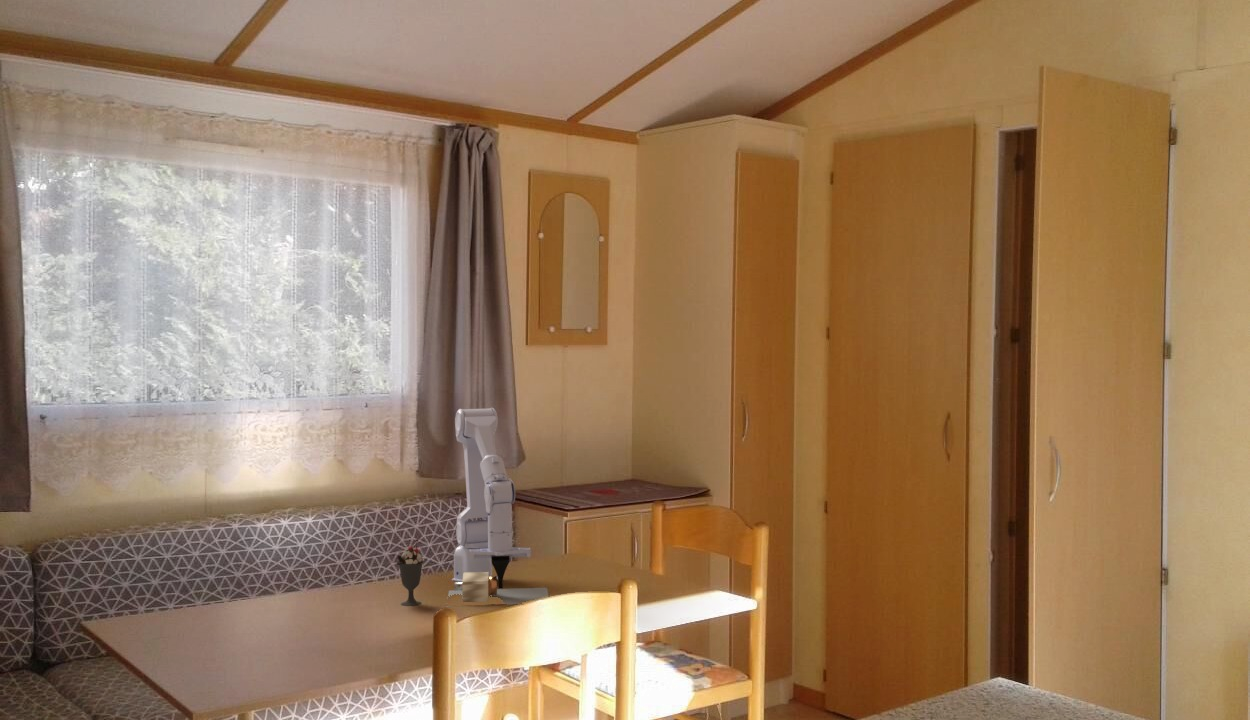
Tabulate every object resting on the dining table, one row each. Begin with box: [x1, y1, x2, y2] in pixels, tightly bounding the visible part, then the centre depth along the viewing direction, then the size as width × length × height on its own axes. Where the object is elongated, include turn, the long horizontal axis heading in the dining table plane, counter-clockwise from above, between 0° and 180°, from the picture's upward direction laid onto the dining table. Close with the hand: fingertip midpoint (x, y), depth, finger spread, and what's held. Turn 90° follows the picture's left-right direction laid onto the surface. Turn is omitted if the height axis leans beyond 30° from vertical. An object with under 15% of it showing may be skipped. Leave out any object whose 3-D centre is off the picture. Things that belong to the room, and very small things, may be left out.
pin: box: [453, 575, 498, 595], centre depth 269 cm, size 10×4×4 cm, turn 96°
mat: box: [445, 587, 549, 608], centre depth 270 cm, size 24×16×1 cm, turn 96°
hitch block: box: [462, 572, 489, 602], centre depth 269 cm, size 6×10×5 cm, turn 6°
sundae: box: [395, 539, 426, 607], centre depth 264 cm, size 7×7×15 cm
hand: (500, 587), depth 270 cm, fingers closed
